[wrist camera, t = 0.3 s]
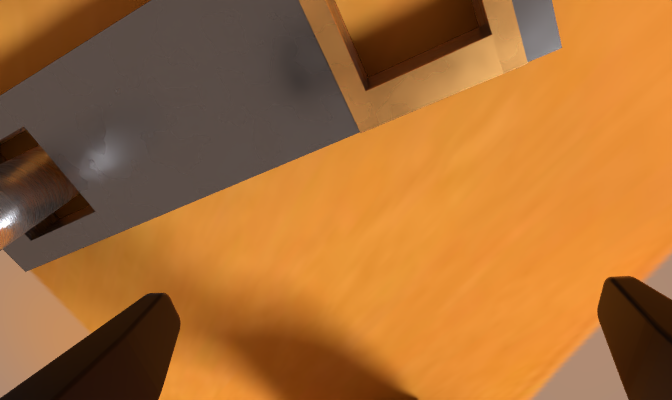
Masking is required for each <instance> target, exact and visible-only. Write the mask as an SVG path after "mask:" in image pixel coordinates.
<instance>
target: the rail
mask: <svg viewBox="0 0 672 400" xmlns="http://www.w3.org/2000/svg"><path fill="white" fill-rule="evenodd" d="M471 2H472V5H473V8H474V12H475V15H476V18H477V22H478V25H479V27H478V28H476V29H473V30H471V31H469V32H467V33H465V34H463V35H460V36H458V37H456V38H454V39H452V40H449V41H447V42H445V43H443V44H441V45H439V46H436V47H434V48H432V49H430V50H428V51H425V52H423V53H421V54H419V55H417V56H415V57H412V58H410V59H408V60H406V61H404V62H401V63H399V64H397V65H395V66H393V67H391V68H388V69H386V70H384V71H382V72H380V73H377V74H375V75H373V76H371V77H369V78H368V77H367V74H366V72H365V70H364V67H363V65H362V63H361V60H360V58H359V56H358V53H357V51H356V49H355V46H354V44H353V42H352V39H351V37H350V35H349V33H348V30H347V28H346V26H345V23H344V21H343V19H342V16H341V14H340V12H339V9H338V7H337V5H336V2H335V0H151V1H149V2H148V3H146V4H144V5H143V6H141V7H140V8H138V9H137V10H135V11H133V12H132V13H130V14H129V15H127V16H125V17H124V18H122V19H121V20H119V21H118V22H116V23H114V24H113V25H111V26H110V27H108V28H106V29H105V30H103V31H102V32H100V33H99V34H97V35H95V36H94V37H92V38H91V39H89V40H88V41H86V42H84V43H83V44H81V45H80V46H78V47H76V48H75V49H73V50H72V51H70V52H69V53H67V54H65V55H64V56H62V57H61V58H59V59H57V60H56V61H54V62H53V63H51V64H50V65H48V66H46V67H45V68H43V69H42V70H40V71H38V72H37V73H35V74H34V75H32V76H31V77H29V78H27V79H26V80H24V81H23V82H21V83H19V84H18V85H16V86H15V87H13V88H12V89H10V90H8V91H7V92H5V93H4V94H2V95H0V145H1V144H3V143H4V142H6V141H8V140H10V139H11V138H13V137H15V136H17V135H18V134H20V133H22V132H24V131H25V130H27V131H28V132H29V133H30V134H31V135H32V137H33V138H34V139H35V140H36V141H37V143H38V144H39V145H40V146H41V147H42V148H43V150H44V151H45V152H46V153H47V154H48V156H49V157H50V158H51V159H52V160H53V162H54V163H55V164H56V165H57V166H58V167H59V169H60V170H61V171H62V172H63V173H64V175H65V176H66V177H67V178H68V179H69V180H70V182H71V183H72V184H73V185H74V186H75V188H76V189H77V190H78V191H79V192H80V194H81V195H82V196H83V197H84V198H85V199H86V201H87V202H88V203H89V204H90V206H88V207H85V208H83V209H81V210H79V211H77V212H74V213H72V214H70V215H68V216H66V217H64V218H61V219H59V218H58V217H57V216H56V215H55V214H54V213H52V214H51V215H49V216H48V217H46V218H45V219H44V220H42V221H41V222H39V223H38V224H37V225H35V226H34V227H33V228H31V229H30V230H28V231H27V232H26V233H24V234H23V235H21V236H20V237H19V238H17V239H16V240H14V241H13V242H12V243H10V244H9V245H8V246H6V247H5V248H3V250H4V251H5V252H6V253H7V254H8V255H9V256H10V257H11V258H12V259H13V260H14V261H15V262H16V263H17V264H18V265H19V266H20V267H21V268H22V269H24V271H25V272H26V271H29V270H31V269H33V268H36V267H38V266H41V265H43V264H45V263H48V262H50V261H53V260H55V259H57V258H60V257H62V256H65V255H67V254H69V253H72V252H74V251H77V250H79V249H81V248H84V247H86V246H89V245H91V244H93V243H96V242H98V241H101V240H103V239H105V238H108V237H110V236H113V235H115V234H117V233H120V232H122V231H124V230H127V229H129V228H132V227H134V226H136V225H139V224H141V223H144V222H146V221H148V220H151V219H153V218H156V217H158V216H160V215H163V214H165V213H168V212H170V211H172V210H175V209H177V208H180V207H182V206H184V205H187V204H189V203H192V202H194V201H196V200H199V199H201V198H204V197H206V196H208V195H211V194H213V193H215V192H218V191H220V190H223V189H225V188H227V187H230V186H232V185H235V184H237V183H239V182H242V181H244V180H247V179H249V178H251V177H254V176H256V175H259V174H261V173H263V172H266V171H268V170H271V169H273V168H275V167H278V166H280V165H283V164H285V163H287V162H290V161H292V160H295V159H297V158H299V157H302V156H304V155H306V154H309V153H311V152H314V151H316V150H318V149H321V148H323V147H326V146H328V145H330V144H333V143H335V142H338V141H340V140H342V139H345V138H347V137H350V136H352V135H354V134H357V133H359V132H360V133H362V132H365V131H367V130H370V129H372V128H374V127H377V126H379V125H382V124H384V123H386V122H389V121H391V120H394V119H396V118H398V117H401V116H403V115H406V114H408V113H410V112H413V111H415V110H418V109H420V108H422V107H425V106H427V105H430V104H432V103H434V102H437V101H439V100H442V99H444V98H446V97H449V96H451V95H454V94H456V93H458V92H461V91H463V90H466V89H468V88H470V87H473V86H475V85H478V84H480V83H482V82H485V81H487V80H490V79H492V78H495V77H497V76H499V75H502V74H504V73H507V72H509V71H511V70H514V69H516V68H519V67H521V66H523V65H526V64H528V62H529V61H532V60H534V59H536V58H539V57H541V56H544V55H546V54H548V53H551V52H553V51H556V50H558V49H560V48H562V46H561V41H560V36H559V32H558V27H557V23H556V18H555V13H554V9H553V4H552V0H471ZM4 162H6V159H5V158H4V157H3V156H2V155H1V154H0V164H2V163H4Z"/></svg>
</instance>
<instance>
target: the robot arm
mask: <svg viewBox="0 0 672 400" xmlns="http://www.w3.org/2000/svg"><path fill="white" fill-rule="evenodd" d="M597 312H598V319H599V322H600V325H601V327H602V330H603V333H604V335H605V338H606V341H607V343H608V346H609V349H610V351H611V354H612V357H613V360H614V362H615V365H616V368H617V370H618V372H619V376H620V379H621V381H622V384H623V386H624V389H625V392H626V394H627V396H628V399H629V400H672V300H671V299H670V298H668V297H666V296H665V295H663V294H661V293H659V292H658V291H656V290H655V289H653V288H651V287H649V286H648V285H646V284H645V283H643V282H641V281H640V280H638V279H636V278H634V277H630V276H620V277H609V278H607V279H606V280H605V282H604V285H603V289H602V293H601V296H600V300H599V304H598V310H597ZM179 330H180V318H179V315H178V313H177V311H176V309H175V307H174V305H173V303H172V301H171V299H170V297H169V296H168V295H167V294H166V293H150V294H147V295H145V296H143V297H142V298H141V299H139V300H138V301H136V302H135V303H134V304H132V305H131V306H129V307H128V308H127V309H125V310H124V311H122V312H121V313H120V314H118V315H117V316H115V317H114V318H112V319H111V320H110V321H108V322H107V323H105V324H104V325H103V326H101V327H100V328H98V329H97V330H96V331H94V332H93V333H91V334H90V335H89V336H87V337H86V338H84V339H83V340H81V341H80V342H79V343H77V344H76V345H74V346H73V347H72V348H70V349H69V350H68V351H66V352H65V353H63V354H62V355H60V356H59V357H57V358H56V359H55V360H53V361H52V362H50V363H49V364H48V365H46V366H45V367H44V368H42V369H41V370H39V371H38V372H36V373H35V374H34V375H32V376H31V377H29V378H28V379H27V380H25V381H24V382H22V383H21V384H20V385H18V386H17V387H16V388H14V389H12V390H11V391H10V392H8V393H7V394H6V395H4V396H3V397H1V398H0V400H158V399H159V396H160V394H161V391H162V388H163V385H164V381H165V378H166V374H167V371H168V368H169V364H170V361H171V357H172V354H173V351H174V347H175V344H176V340H177V337H178V334H179Z"/></svg>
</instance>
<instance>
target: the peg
mask: <svg viewBox="0 0 672 400" xmlns="http://www.w3.org/2000/svg"><path fill="white" fill-rule="evenodd" d="M78 194H80V192H79V191H78V190H77V189H76V188H75V186H74V185H73V184H72V183H71V182H70V180H69V179H68V178H67V177H66V176H65V175H64V173H63V172H62V171H61V170H60V169H59V167H58V166H57V165H56V164H55V163H54V162H53V160H52V159H51V158H50V157H49V156H48V154H47V153H46V152H45V151H44V150H43V148H42V147H41V146H40V145H38V146H36V147H34V148H32V149H30V150H28V151H26V152H24V153H22V154H20V155H18V156H16V157H14V158H12V159H10V160H8V161H6V162H4V163H2V164H0V251H1V250H2V249H3V248H5V247H6V246H8V245H9V244H10V243H12V242H13V241H14V240H16V239H17V238H19V237H20V236H21V235H23V234H24V233H26V232H27V231H28V230H30V229H31V228H33V227H34V226H35V225H37V224H38V223H39V222H41V221H42V220H44V219H45V218H46V217H48V216H49V215H51V214H52V213H53V212H55V211H56V210H58V209H59V208H60V207H62V206H63V205H64V204H66V203H67V202H69V201H70V200H71V199H73V198H74V197H76V196H77V195H78Z"/></svg>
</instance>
